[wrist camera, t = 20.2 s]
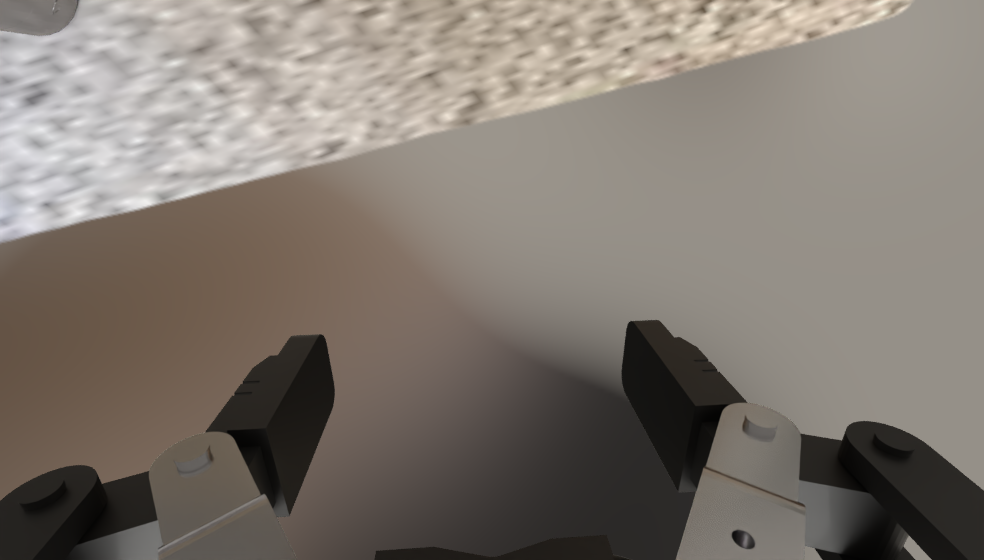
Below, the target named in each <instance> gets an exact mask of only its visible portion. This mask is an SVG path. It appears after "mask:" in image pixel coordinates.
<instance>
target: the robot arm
mask: <svg viewBox="0 0 984 560" xmlns="http://www.w3.org/2000/svg"><path fill="white" fill-rule="evenodd" d="M76 8H77V0H0V31H7V32H14V33H22V34H29V35H36V36H43V35H51V34H53V33H56V32H59V31H60V30H62V29H63V28H64V27H66V26H67V25H68V23H69V22H70V21H71V19H72V18H73V16H74V13H75V10H76ZM622 384H623V388H624V392H625V394H626V396H627V398H628V400H629V402H630V403H631V405H632V407H633V409H634V411H635V413H636V415H637V416H638V418H639V420H640V422H641V424H642V426H643V428H644V429H645V431H646V433H647V435H648V437H649V439H650V441H651V443H652V444H653V446H654V448H655V450H656V452H657V454H658V455H659V457H660V459H661V461H662V463H663V465H664V467H665V469H666V471H667V472H668V474H669V476H670V478H671V480H672V481H673V484H674V485H675V487H676V489H677V491H678V492H692V491H696V495H695V498H694V501H693V505H692V508H691V511H690V515H689V518H688V521H687V525H686V528H685V531H684V535H683V538H682V541H681V545H680V548H679V551H678V554H677V558H676V560H804V549H805V546H808V547H813V548H815V549H816V551H817V552H818V554H819V555H820V557H821V558H822V559H823V560H915V559H914V558H913V557H912V556H911V554H910V553H909V552H908V551H907V550H906V549H905V548H904V547H903V546H904V544H905V542H906V539H907V537H908V536H910V537H911V538H912V539H913V540H914V541H915V542H916V543H917V544H918V545H919V546H920V548H921V549H922V550H923V551H924V552H925V553H926V554H927V555H928V556H929V557H930V558H931V559H932V560H984V491H983V490H982V489H981V488H980V487H979V486H977V485H976V484H975V483H973V481H971V480H970V479H969V478H967V477H966V476H965V475H964V474H963V473H961V472H960V471H959V470H958V469H957V468H955V467H954V466H953V465H952V464H951V463H949V462H948V461H947V460H946V459H944V458H943V457H942V456H941V455H940V454H938V453H937V452H936V451H935V450H933V449H932V448H931V447H929V446H928V445H927V444H926V443H924V442H923V441H922V440H920V439H918V438H917V437H915V436H913V435H911V434H909V433H907V432H905V431H903V430H901V429H898V428H895V427H893V426H889V425H886V424H882V423H877V422H869V421H860V422H854V423H852V424H850V425H849V426H848V427H847V429H846V431H845V434H844V437H843V439H842V441H841V440H835V439H829V438H823V437H817V436H811V435H805V434H800V432H799V430H798V428H797V427H796V425H795V424H794V423H793V422H792V421H790V420H789V419H788V418H787V417H785V416H784V415H782V414H781V413H779V412H777V411H775V410H773V409H770V408H768V407H765V406H762V405H758V404H752V403H747V402H746V400H744V398H743V397H742V396H741V395H740V394H739V393H738V392H737V391H736V389H735V388H734V387H733V386H732V385H731V384H730V383H729V382H728V381H727V380H726V378H725V377H724V376H723V375H722V374H721V373H720V372H717V369H716V367H715V366H714V365H713V364H712V363H711V362H708V359H707V358H706V356H705V355H704V354H703V353H702V352H701V351H700V350H699V349H698V348H697V347H696V346H694V345H692V344H691V343H689V342H687V341H686V340H684V339H682V338H680V337H677V338H674V337H673V336H672V335H671V333H670V332H669V331H668V330H667V329H666V327H665V326H664V325H663V324H662V323H661V322H660V321H659V320H648V321H630V322H629V323H628V326H627V329H626V337H625V346H624V355H623V363H622ZM334 396H335V389H334V381H333V375H332V370H331V365H330V359H329V354H328V348H327V343H326V339H325V337H324V336H323V335H321V334H319V335H297V336H291V337H290V338H289V340H288V341H287V343H286V344H285V346H284V347H283V348H282V350H281V351H280V353H279V354H278V355H277V356H269V357H268V358H266V359H265V360H263V361H262V362H261V363H259V364H258V365H256V366H255V367H254V368H253V369H252V370H251V371H250V373H249V374H248V375H247V377H246V378H245V379H244V381H243V384H241V385H240V386H239V388H238V389H237V390H236V391H235V395H234V396H232V397H231V398H230V400H229V401H228V402H227V404H226V405H225V406H224V408H223V409H222V410H221V412H220V413H219V414H218V416H217V417H216V419H215V420H214V421H213V422H212V424H211V425H210V427H209V428H208V429H207V430H206V432H205V433H201V434H197V435H194V436H191V437H189V438H186V439H184V440H182V441H179V442H178V443H176V444H174V445H172V446H171V447H169V448H168V449H167V450H165V451H164V452H163V453H162V454H161V455H160V456H159V457H158V458H157V459H156V460H155V461H154V462H153V464H152V466H151V468H150V470H149V471H148V472H144V473H141V474H137V475H133V476H129V477H126V478H122V479H118V480H115V481H111V482H108V483H104V484H102V483H101V481H100V479H99V477H98V474H97V472H96V471H95V469H93V468H92V467H89V466H84V465H76V466H68V467H64V468H59V469H56V470H53V471H50V472H47V473H45V474H42V475H40V476H38V477H36V478H34V479H32V480H30V481H28V482H26V483H24V484H23V485H21V486H20V487H18V488H16V489H15V490H13V491H12V492H11V493H9V494H8V495H6V496H5V497H4V498H3V499H2V500H1V501H0V560H297V558H296V556H295V554H294V551H293V549H292V548H291V546H290V543H289V541H288V539H287V537H286V535H285V533H284V531H283V529H282V527H281V525H280V523H279V521H278V519H277V517H286V516H290V513H291V511H292V508H293V506H294V503H295V501H296V498H297V496H298V493H299V491H300V488H301V486H302V483H303V481H304V478H305V476H306V473H307V471H308V468H309V466H310V463H311V461H312V458H313V456H314V453H315V451H316V448H317V446H318V443H319V441H320V438H321V436H322V433H323V431H324V428H325V426H326V423H327V421H328V418H329V416H330V413H331V411H332V408H333V404H334ZM375 560H631V559H628V558H624V557H621V556H616V555H613V553H612V550H611V548H610V544H609V541H608V538H607V535H600V536H584V537H570V538H556V539H549V540H546V541H543V542H540V543H537V544H534V545H531V546H528V547H525V548H522V549H519V550H516V551H513V552H510V553H507V554H504V555H501V556H498V557H486V556H481V555H475V554H469V553H464V552H458V551H453V550H448V549H442V548H437V547H426V548H412V549H398V550H383V551H376V555H375Z"/></svg>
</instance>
